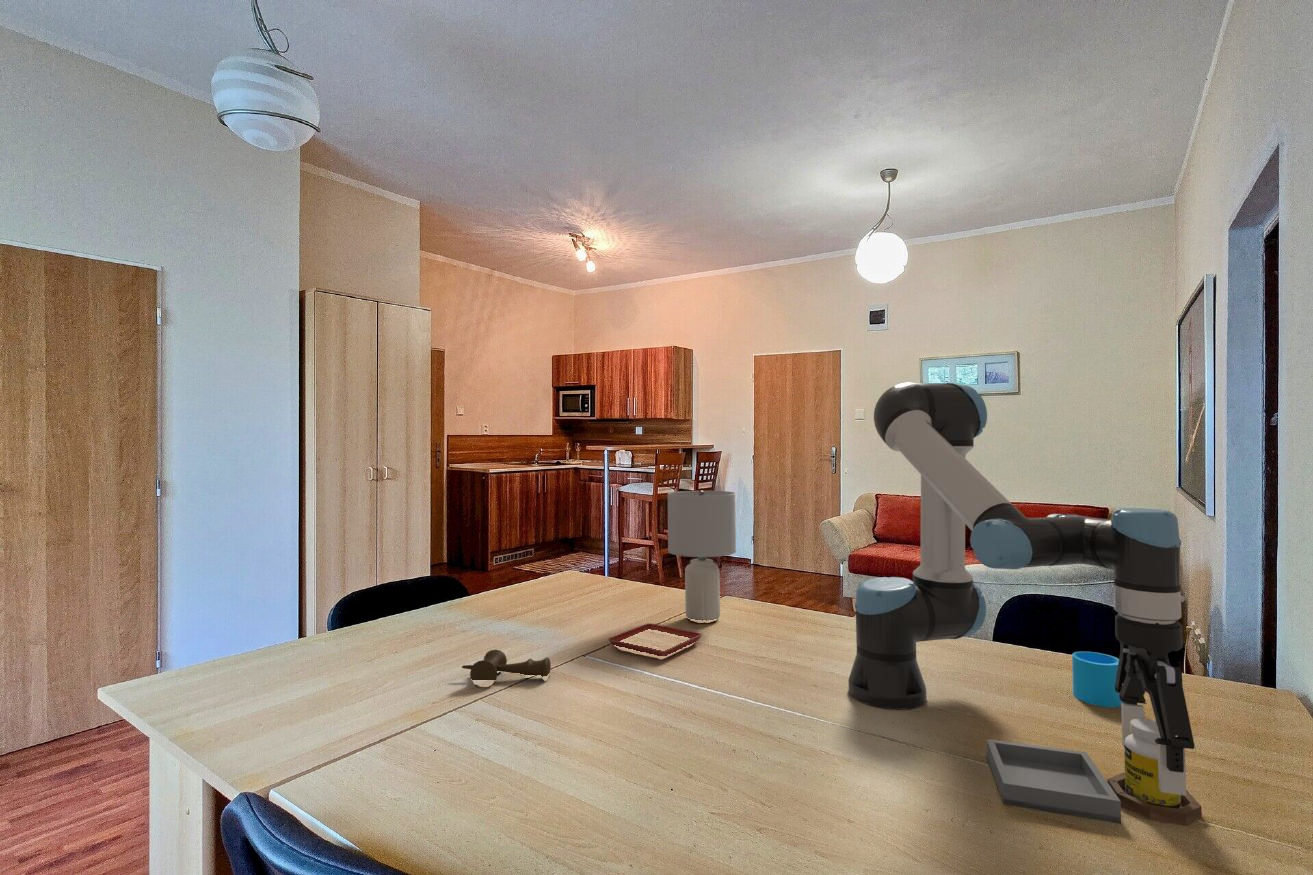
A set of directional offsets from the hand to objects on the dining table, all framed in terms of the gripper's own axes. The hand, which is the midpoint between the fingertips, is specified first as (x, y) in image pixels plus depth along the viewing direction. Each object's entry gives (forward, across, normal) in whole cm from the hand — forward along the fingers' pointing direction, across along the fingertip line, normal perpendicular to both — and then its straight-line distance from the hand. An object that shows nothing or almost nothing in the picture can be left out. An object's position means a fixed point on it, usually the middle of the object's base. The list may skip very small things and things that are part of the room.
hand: (1151, 768), depth 87 cm
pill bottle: (+5, 0, 0) cm, 5 cm away
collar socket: (+5, 0, 0) cm, 5 cm away
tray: (+5, 0, +13) cm, 14 cm away
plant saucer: (+5, +43, +91) cm, 101 cm away
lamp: (+5, +71, +86) cm, 112 cm away
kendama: (+5, +12, +116) cm, 116 cm away
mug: (+5, +42, -5) cm, 43 cm away
